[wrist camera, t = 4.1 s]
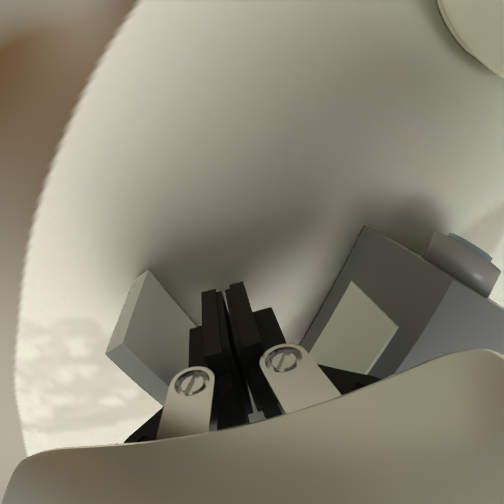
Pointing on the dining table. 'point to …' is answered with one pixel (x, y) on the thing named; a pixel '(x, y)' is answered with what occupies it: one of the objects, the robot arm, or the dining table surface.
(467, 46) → the lidded jar
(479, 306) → the camera body
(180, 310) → the side door
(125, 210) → the dining table surface
